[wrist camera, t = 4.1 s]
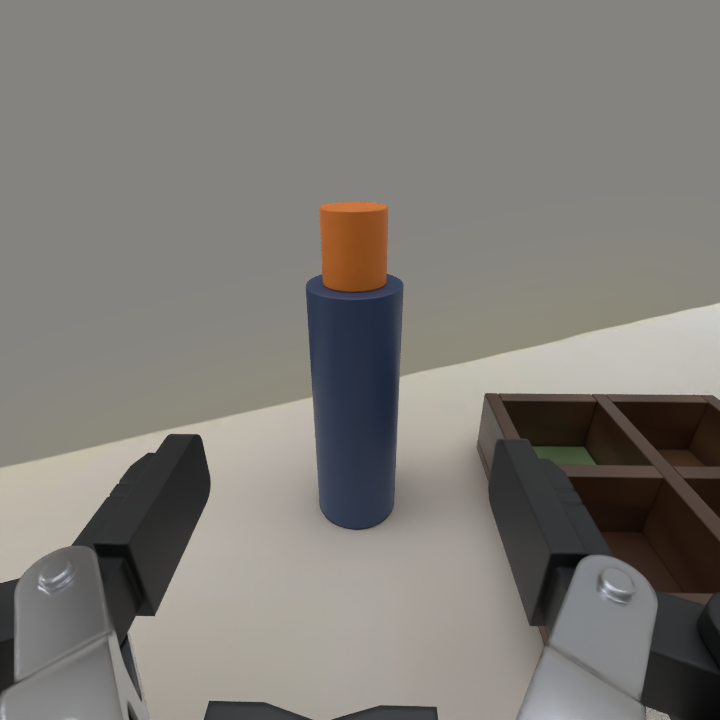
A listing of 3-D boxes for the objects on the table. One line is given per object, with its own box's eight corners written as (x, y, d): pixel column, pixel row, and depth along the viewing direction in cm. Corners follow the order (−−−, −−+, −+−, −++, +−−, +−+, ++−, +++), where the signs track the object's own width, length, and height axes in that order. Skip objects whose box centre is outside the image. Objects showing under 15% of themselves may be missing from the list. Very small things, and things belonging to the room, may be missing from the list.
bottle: (392, 474, 25) (403, 199, 18) (395, 530, 21) (411, 213, 14) (323, 473, 25) (308, 199, 18) (315, 529, 21) (292, 213, 14)
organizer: (689, 449, 27) (713, 394, 25) (941, 693, 15) (1022, 623, 13) (476, 447, 27) (484, 392, 25) (557, 683, 15) (584, 613, 13)
